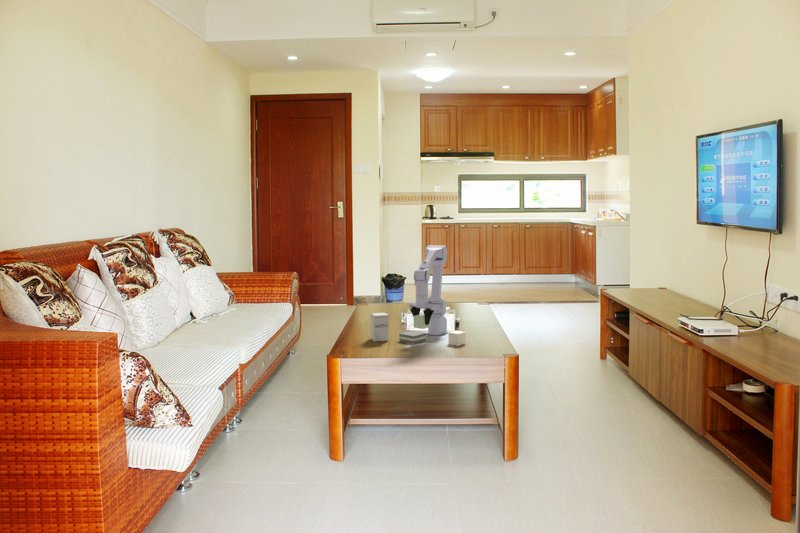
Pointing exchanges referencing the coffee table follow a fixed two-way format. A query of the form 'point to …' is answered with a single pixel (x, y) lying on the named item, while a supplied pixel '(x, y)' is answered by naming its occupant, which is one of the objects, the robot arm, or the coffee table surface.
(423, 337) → the grey striped square box
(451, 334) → the cream block
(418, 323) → the sage block
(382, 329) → the supplement box
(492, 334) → the coffee table surface
